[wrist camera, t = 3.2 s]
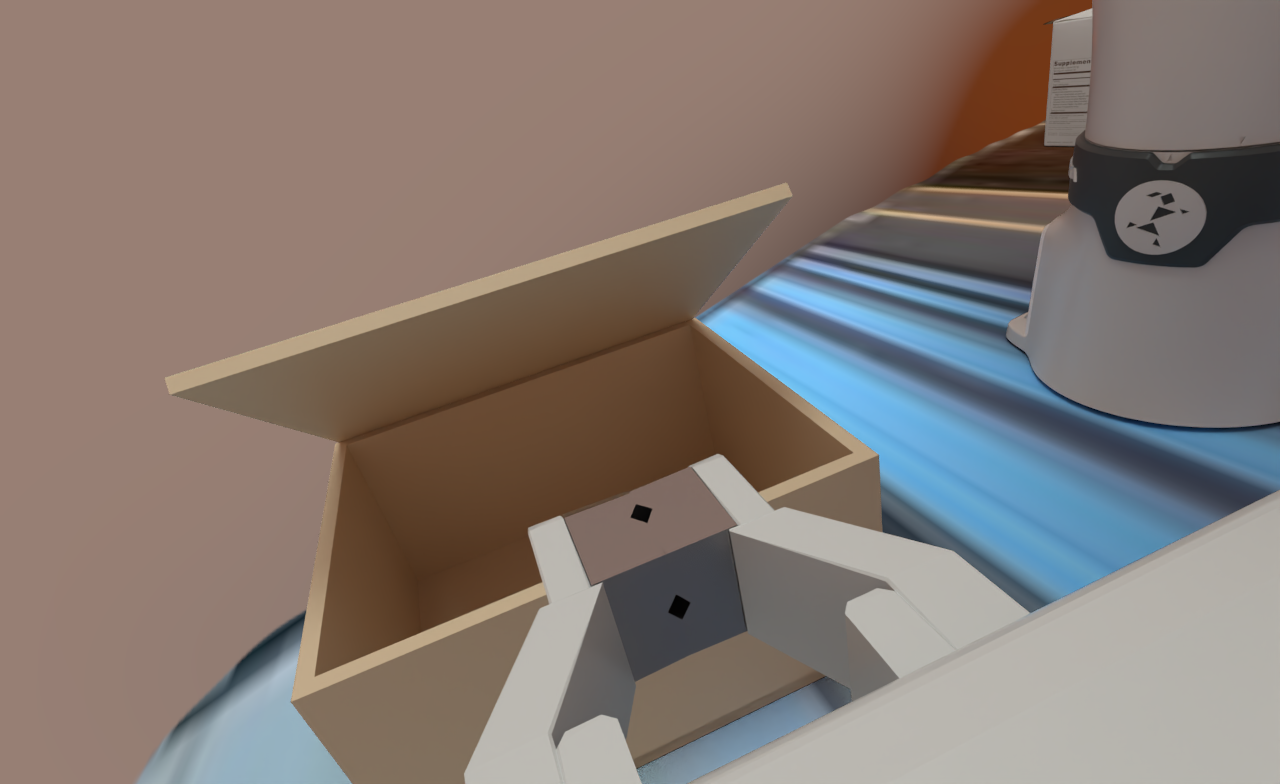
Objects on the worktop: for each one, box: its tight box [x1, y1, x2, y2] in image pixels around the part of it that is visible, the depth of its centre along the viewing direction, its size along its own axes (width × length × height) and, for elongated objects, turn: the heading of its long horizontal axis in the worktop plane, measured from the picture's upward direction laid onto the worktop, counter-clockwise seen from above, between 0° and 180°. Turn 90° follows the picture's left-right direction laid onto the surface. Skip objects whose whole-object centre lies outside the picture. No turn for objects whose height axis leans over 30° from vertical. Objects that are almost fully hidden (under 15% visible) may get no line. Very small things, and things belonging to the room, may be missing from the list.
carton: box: [291, 318, 882, 784], centre depth 30 cm, size 16×20×10 cm
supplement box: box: [1044, 9, 1092, 146], centre depth 80 cm, size 9×9×15 cm
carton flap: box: [165, 183, 792, 442], centre depth 27 cm, size 15×20×1 cm
